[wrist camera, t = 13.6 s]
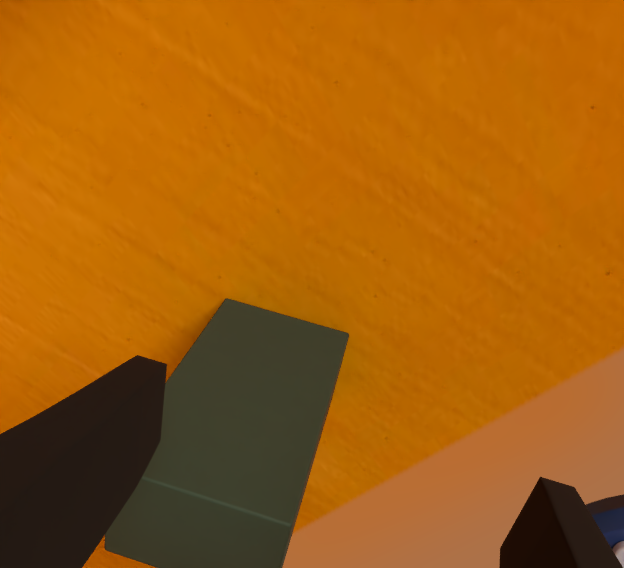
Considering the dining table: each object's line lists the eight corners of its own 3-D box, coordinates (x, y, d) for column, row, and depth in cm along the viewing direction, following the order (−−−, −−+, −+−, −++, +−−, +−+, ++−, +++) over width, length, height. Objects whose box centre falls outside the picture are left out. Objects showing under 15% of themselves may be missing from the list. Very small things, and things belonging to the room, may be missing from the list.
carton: (104, 465, 15) (103, 552, 17) (292, 526, 14) (269, 608, 16) (225, 297, 23) (216, 368, 24) (349, 332, 22) (330, 402, 24)
